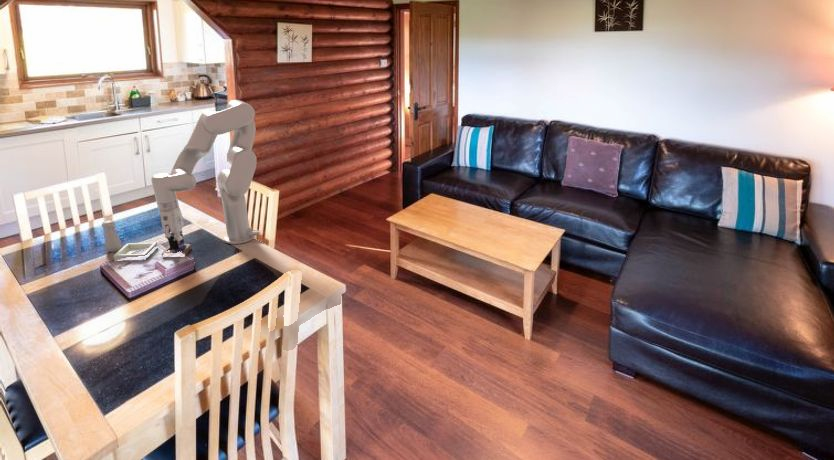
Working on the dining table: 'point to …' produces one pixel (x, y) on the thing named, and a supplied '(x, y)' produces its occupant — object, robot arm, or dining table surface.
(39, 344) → the dining table surface
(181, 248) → the pill bottle
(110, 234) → the salt shaker
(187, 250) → the beige square dish
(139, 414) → the dining table surface
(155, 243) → the tray
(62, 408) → the dining table surface
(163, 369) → the dining table surface
